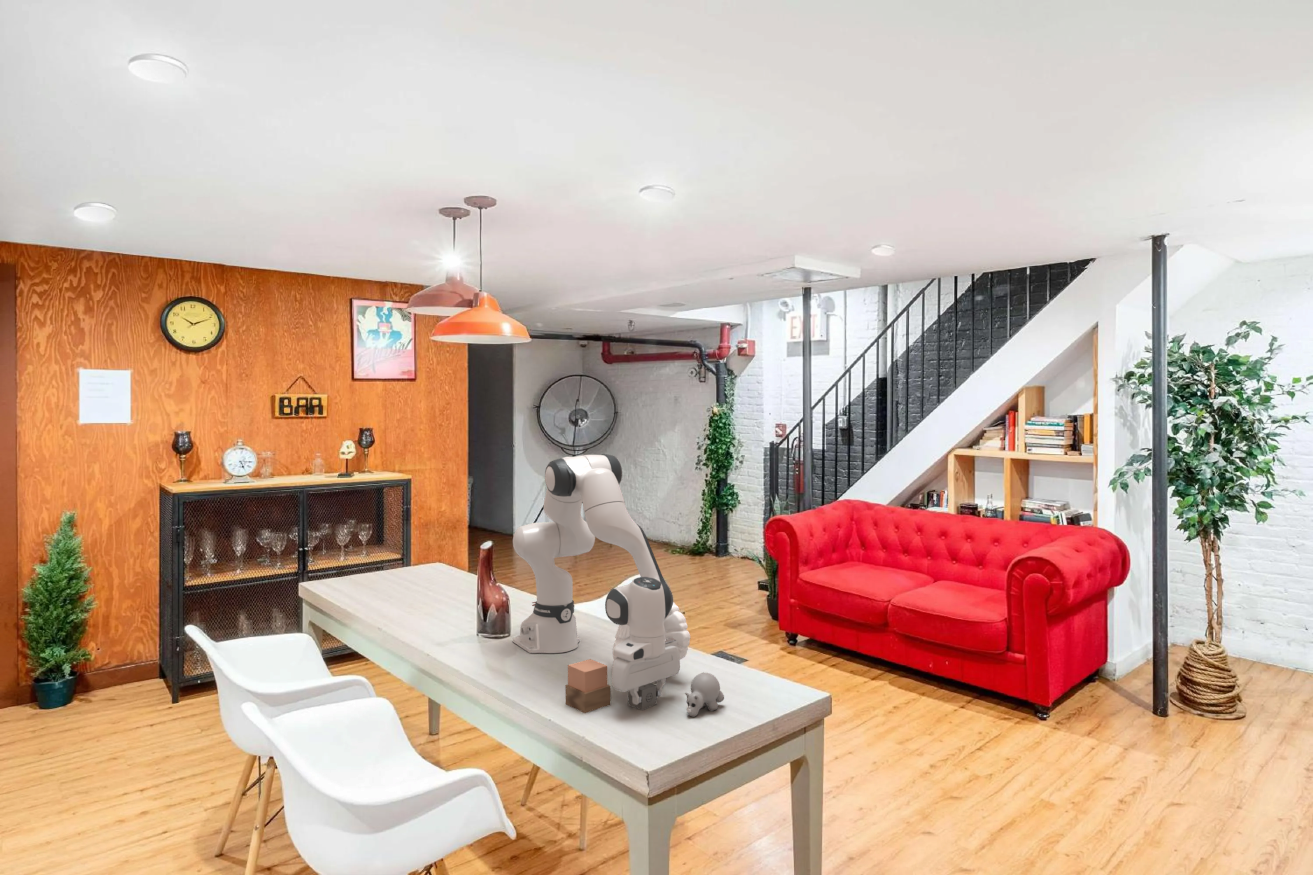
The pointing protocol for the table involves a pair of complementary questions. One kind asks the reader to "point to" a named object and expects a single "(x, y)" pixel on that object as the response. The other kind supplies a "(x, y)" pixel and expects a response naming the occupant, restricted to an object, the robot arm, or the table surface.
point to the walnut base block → (588, 698)
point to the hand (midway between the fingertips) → (647, 699)
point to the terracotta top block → (587, 675)
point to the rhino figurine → (704, 694)
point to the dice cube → (644, 696)
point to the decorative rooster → (673, 629)
